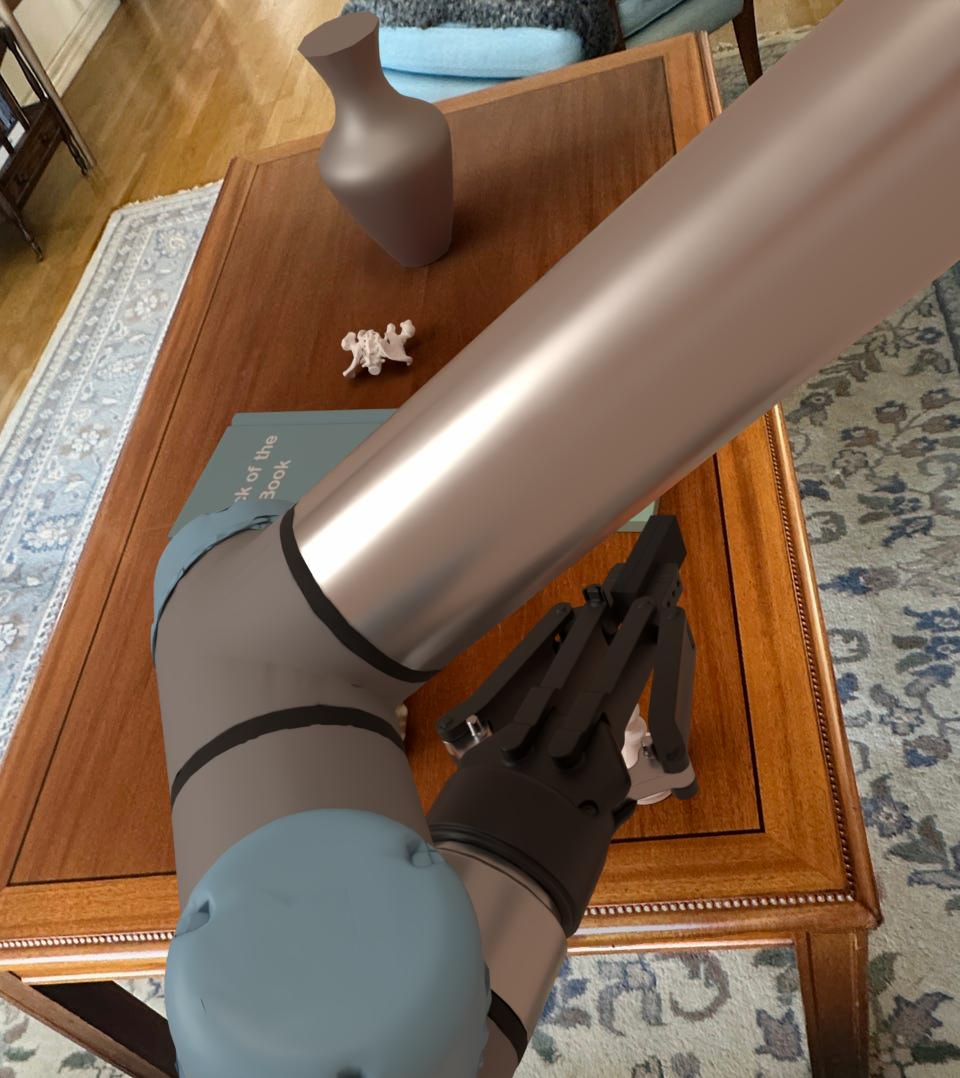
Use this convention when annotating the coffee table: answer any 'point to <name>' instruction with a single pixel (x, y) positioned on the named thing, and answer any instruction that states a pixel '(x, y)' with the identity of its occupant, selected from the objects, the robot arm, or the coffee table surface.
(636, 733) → the chess piece
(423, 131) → the vase
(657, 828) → the coffee table surface
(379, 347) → the pelvis model
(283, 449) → the book
